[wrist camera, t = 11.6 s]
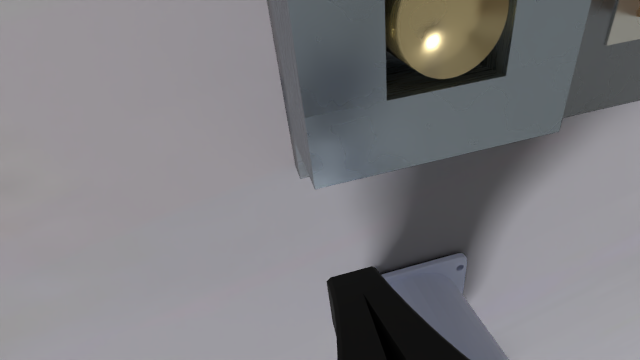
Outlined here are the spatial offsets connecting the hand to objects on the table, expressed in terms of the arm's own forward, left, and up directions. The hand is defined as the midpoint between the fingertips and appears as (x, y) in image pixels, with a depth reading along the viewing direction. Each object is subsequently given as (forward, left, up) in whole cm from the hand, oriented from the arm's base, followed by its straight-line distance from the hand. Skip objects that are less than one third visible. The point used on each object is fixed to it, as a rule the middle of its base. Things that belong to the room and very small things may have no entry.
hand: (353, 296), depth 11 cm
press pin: (+6, -5, -7) cm, 11 cm away
